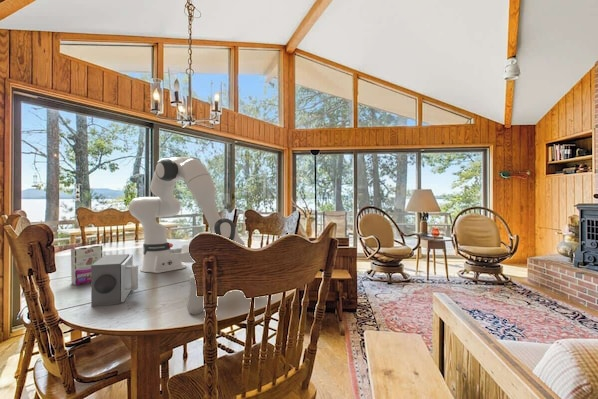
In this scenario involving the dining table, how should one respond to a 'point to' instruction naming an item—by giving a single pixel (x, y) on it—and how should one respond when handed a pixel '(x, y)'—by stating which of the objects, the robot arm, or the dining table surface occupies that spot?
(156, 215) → the robot arm
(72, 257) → the candy bar box
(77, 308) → the dining table surface
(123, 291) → the door
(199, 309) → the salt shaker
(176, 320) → the dining table surface
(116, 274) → the housing
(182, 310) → the dining table surface
